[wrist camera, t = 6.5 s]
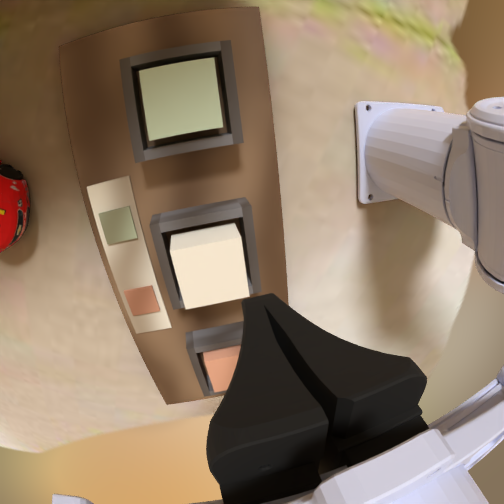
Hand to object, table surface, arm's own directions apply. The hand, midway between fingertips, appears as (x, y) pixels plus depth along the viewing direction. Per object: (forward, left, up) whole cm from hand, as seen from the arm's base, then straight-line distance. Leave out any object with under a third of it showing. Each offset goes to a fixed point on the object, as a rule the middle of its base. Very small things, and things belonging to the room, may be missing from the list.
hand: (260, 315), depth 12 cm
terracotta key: (+2, +11, -9) cm, 14 cm away
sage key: (+2, -9, -9) cm, 13 cm away
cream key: (+2, +1, -8) cm, 8 cm away
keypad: (+3, +1, -10) cm, 11 cm away
